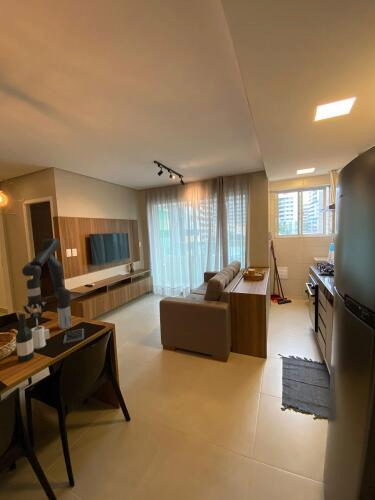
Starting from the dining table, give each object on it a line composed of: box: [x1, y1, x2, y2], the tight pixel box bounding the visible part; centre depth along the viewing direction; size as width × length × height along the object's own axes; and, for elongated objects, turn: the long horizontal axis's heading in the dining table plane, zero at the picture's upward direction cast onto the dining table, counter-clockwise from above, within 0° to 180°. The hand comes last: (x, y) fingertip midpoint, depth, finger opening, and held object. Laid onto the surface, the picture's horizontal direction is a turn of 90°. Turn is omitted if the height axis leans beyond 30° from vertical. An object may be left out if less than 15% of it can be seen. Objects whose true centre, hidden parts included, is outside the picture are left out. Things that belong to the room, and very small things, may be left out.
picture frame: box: [62, 328, 85, 345], centre depth 163 cm, size 13×2×18 cm
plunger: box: [33, 310, 42, 330], centre depth 149 cm, size 5×5×13 cm
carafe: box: [30, 325, 50, 350], centre depth 150 cm, size 10×8×13 cm
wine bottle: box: [15, 312, 35, 363], centre depth 134 cm, size 8×8×30 cm
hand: (36, 317), depth 148 cm, fingers closed on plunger, 3 cm apart
